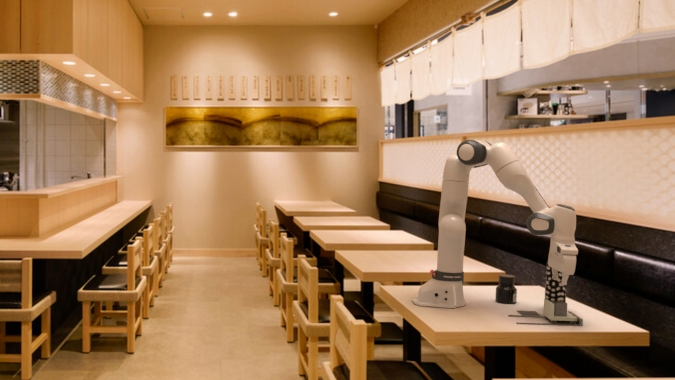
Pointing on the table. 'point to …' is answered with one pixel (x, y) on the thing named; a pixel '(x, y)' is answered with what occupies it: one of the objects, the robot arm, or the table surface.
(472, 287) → the table surface
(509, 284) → the ink bottle
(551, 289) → the white-spotted black cylinder
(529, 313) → the station pad
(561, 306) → the steel block
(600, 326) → the table surface
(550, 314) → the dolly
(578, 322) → the track
